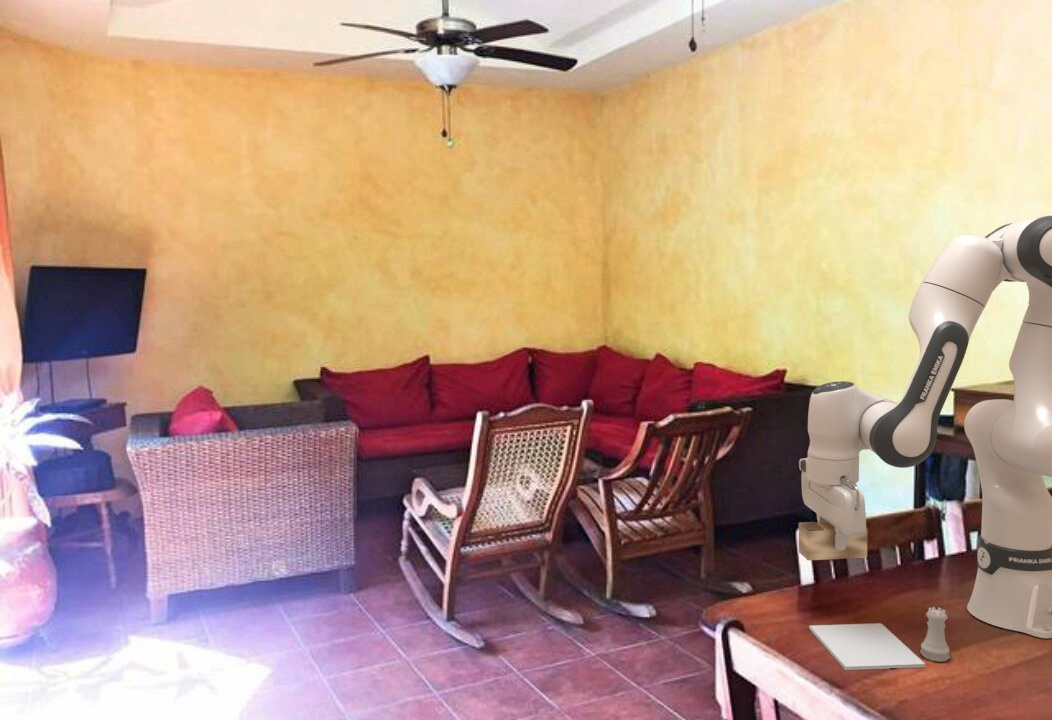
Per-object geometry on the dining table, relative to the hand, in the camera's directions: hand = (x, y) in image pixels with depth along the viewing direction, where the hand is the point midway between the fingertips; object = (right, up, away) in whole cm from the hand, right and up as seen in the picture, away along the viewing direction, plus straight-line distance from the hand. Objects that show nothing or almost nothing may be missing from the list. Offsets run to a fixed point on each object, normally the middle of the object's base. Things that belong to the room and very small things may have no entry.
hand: (832, 543), depth 152 cm
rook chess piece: (+11, -15, -17) cm, 25 cm away
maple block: (0, -2, 0) cm, 2 cm away
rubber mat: (0, -15, -13) cm, 20 cm away
